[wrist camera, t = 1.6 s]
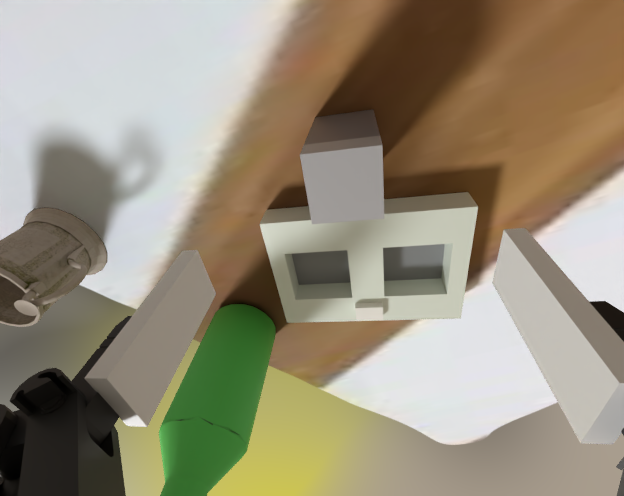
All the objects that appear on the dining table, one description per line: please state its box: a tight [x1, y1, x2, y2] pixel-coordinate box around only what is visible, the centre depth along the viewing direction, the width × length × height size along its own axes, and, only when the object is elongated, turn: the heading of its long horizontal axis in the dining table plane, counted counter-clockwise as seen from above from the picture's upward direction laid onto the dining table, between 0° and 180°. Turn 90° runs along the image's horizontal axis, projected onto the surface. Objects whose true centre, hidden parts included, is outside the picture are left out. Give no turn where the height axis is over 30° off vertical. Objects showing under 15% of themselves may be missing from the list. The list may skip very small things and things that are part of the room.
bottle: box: [159, 304, 276, 496], centre depth 34 cm, size 9×9×25 cm
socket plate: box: [260, 192, 478, 323], centre depth 34 cm, size 14×20×4 cm
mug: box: [0, 208, 107, 327], centre depth 34 cm, size 14×10×12 cm
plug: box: [300, 110, 384, 224], centre depth 25 cm, size 5×5×10 cm
